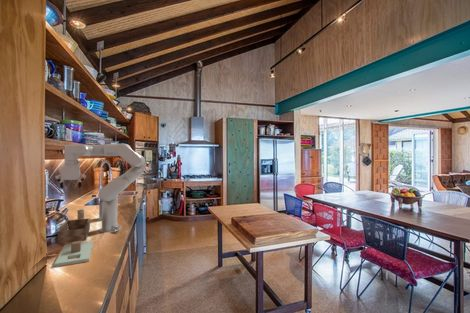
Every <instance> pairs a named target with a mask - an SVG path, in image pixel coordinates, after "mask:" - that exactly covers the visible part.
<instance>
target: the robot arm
mask: <svg viewBox="0 0 470 313" xmlns="http://www.w3.org/2000/svg"><path fill="white" fill-rule="evenodd" d="M79 156H80V157H81V156H82V157H88V156H89V157H91V156H99V157H100V156H102V157H120V158H121V159H122V160H124V161H125V162H126V163H128V165H130V166H131V167H130V168H129V169H127V171H125V172H124V173H123V174H121V175H120V176H117V177H115V178H114V179H112V180H111V181H110V182H108V183H107V184H106V185H105V186H104V187H102V188H100V190H99V192H98V194H97V195H98V199H99V201H100V200H101V201H103V202H102V220H101V228H100V229H98V230H99V232H101V233H110V234H112V233H115V232H116V233H117V232H118V231H119V230H122V225H119V222H118V203H119V202H118V201H119V200H118V199H119V194H120V193H121V192H123V191H124V190H125V189H127V188H128V187H129V186H130V185H131V184H132V183H134V182H135V181H136V180H137V179H138V178H140V176H142V175H143V173H144V172H145V170H146V167H147V162H146V159H145V157H144V156H143V155H141V154H138V153H137V152H136V151H134V150H133V149H132V147H131V145H129V144H127V143H103V144H101V145H100V144H99V145H98V144H95V145H94V144H93V145H92V144H91V145H89V144H88V145H87V144H78V145H77V144H65V146H64V164H63V165H62V169H61V173H60V174H58V175H55V176H54V178H55V179H56V181H57V182H58V183H59V188H60V189H61V190H63V189H64V181H72V180H74V181H76V180H77V181H78V189H81V188H82V182H84V180H85V179H86V177H87V175H86V174H84V173H81V167H80V164H81V162H82V161H79ZM60 177H61V179H60ZM81 177H82V179H81Z"/></svg>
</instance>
